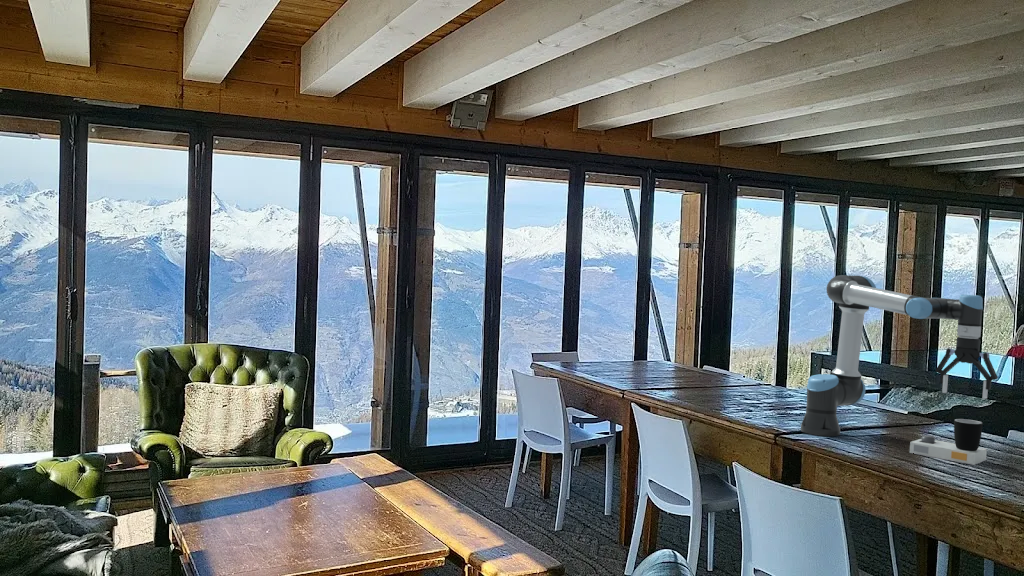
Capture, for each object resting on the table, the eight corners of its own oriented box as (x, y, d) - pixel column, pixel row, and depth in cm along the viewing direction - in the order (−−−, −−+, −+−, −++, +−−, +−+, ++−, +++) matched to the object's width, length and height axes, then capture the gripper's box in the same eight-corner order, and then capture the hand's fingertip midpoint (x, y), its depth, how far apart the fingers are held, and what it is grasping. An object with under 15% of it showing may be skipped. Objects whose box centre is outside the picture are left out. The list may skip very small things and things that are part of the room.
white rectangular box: (909, 452, 313) (909, 442, 313) (922, 448, 322) (923, 437, 322) (973, 465, 297) (974, 453, 297) (986, 459, 307) (986, 448, 306)
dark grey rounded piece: (919, 444, 315) (919, 436, 315) (923, 442, 318) (924, 434, 318) (931, 446, 312) (932, 438, 312) (936, 445, 315) (936, 437, 315)
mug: (985, 452, 300) (987, 424, 299) (960, 451, 300) (962, 423, 300) (968, 445, 312) (970, 417, 311) (943, 444, 312) (945, 416, 312)
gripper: (928, 334, 313) (924, 391, 314) (1003, 341, 295) (998, 401, 296) (936, 333, 318) (932, 389, 319) (1010, 340, 300) (1005, 400, 301)
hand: (964, 395), depth 307 cm, fingers open, 13 cm apart
